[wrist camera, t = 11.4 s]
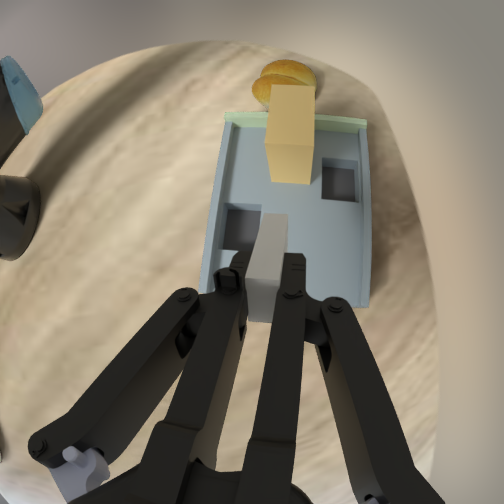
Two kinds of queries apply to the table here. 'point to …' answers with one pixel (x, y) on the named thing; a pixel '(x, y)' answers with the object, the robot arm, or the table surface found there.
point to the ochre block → (290, 133)
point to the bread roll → (281, 78)
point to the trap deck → (296, 205)
